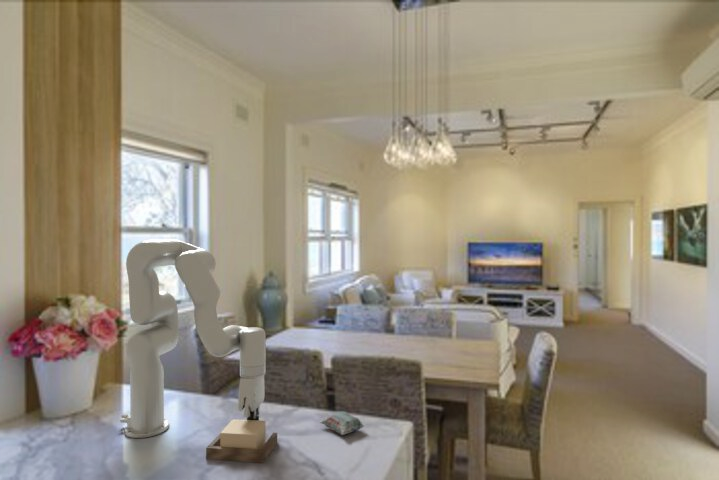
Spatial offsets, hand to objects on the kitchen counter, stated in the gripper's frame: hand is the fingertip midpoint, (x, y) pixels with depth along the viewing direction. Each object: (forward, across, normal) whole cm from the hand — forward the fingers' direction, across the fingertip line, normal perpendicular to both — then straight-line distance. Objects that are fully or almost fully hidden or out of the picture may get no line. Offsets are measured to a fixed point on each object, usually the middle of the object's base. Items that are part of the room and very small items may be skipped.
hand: (252, 429), depth 133 cm
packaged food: (+3, -9, +25) cm, 27 cm away
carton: (+3, +7, 0) cm, 8 cm away
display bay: (+3, +7, 0) cm, 8 cm away
